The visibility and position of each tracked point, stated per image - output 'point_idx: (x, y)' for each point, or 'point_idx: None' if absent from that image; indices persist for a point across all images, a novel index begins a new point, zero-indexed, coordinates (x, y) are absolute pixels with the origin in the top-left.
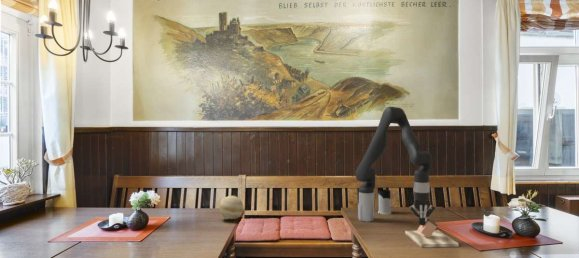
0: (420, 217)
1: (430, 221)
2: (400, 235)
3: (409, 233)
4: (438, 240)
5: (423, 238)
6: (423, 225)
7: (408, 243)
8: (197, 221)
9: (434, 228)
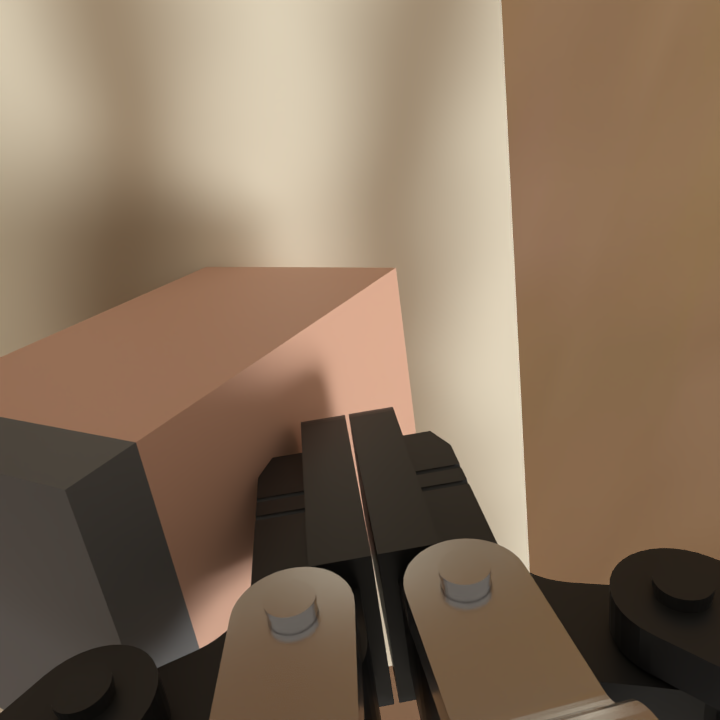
0: (502, 550)
1: (62, 450)
2: (620, 514)
3: (508, 516)
4: (22, 134)
5: (326, 251)
6: None
7: (640, 91)
8: None
9: (8, 365)
